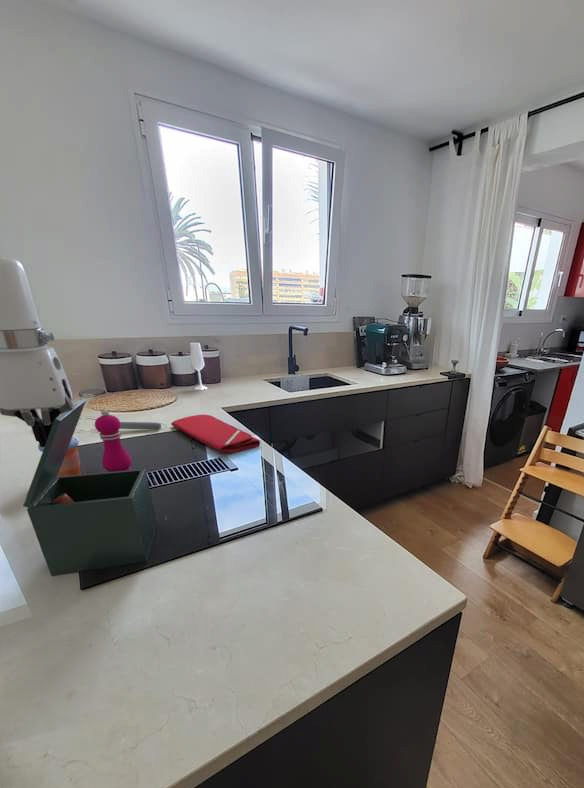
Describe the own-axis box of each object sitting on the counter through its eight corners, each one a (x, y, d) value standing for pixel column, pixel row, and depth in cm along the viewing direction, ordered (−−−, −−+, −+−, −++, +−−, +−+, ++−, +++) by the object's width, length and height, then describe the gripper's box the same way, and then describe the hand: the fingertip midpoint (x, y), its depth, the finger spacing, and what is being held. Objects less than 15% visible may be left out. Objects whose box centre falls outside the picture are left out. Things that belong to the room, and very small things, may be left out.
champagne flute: (201, 390, 212) (195, 344, 202) (192, 389, 214) (185, 343, 204) (210, 387, 217) (204, 343, 208) (200, 386, 219) (194, 342, 210)
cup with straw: (43, 478, 112) (23, 417, 105) (78, 467, 119) (62, 410, 112) (56, 487, 107) (36, 424, 100) (93, 475, 114) (76, 416, 107)
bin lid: (86, 400, 77) (81, 398, 76) (60, 420, 65) (54, 418, 65) (57, 475, 81) (53, 473, 80) (28, 507, 69) (22, 506, 68)
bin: (157, 526, 91) (145, 468, 85) (147, 561, 79) (131, 497, 73) (75, 536, 87) (56, 476, 81) (51, 576, 75) (26, 509, 69)
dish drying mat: (209, 419, 166) (208, 410, 164) (261, 445, 140) (261, 435, 138) (171, 427, 155) (169, 418, 154) (220, 457, 129) (219, 446, 128)
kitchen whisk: (165, 431, 150) (162, 415, 148) (66, 436, 144) (61, 419, 141) (168, 426, 156) (166, 411, 153) (73, 430, 149) (69, 414, 146)
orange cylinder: (99, 550, 81) (49, 504, 75) (103, 543, 83) (54, 498, 77) (111, 543, 81) (62, 497, 75) (114, 536, 84) (67, 491, 78)
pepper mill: (124, 469, 119) (108, 405, 111) (140, 474, 116) (125, 408, 108) (100, 478, 113) (82, 411, 105) (116, 483, 110) (99, 415, 102)
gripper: (76, 337, 70) (101, 434, 77) (-27, 338, 66) (10, 440, 73) (60, 342, 63) (89, 448, 71) (-55, 343, 59) (-12, 455, 66)
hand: (49, 444), depth 72 cm, fingers closed
